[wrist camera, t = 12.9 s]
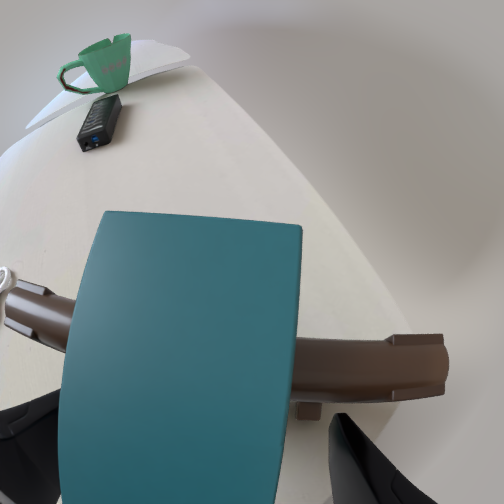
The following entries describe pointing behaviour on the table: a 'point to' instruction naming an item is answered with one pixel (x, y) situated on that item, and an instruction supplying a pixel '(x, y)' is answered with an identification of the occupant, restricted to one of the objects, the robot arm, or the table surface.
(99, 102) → the multiport hub
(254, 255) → the teal angular block
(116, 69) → the mug
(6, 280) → the fidget spinner
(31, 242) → the table surface
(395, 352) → the rack
